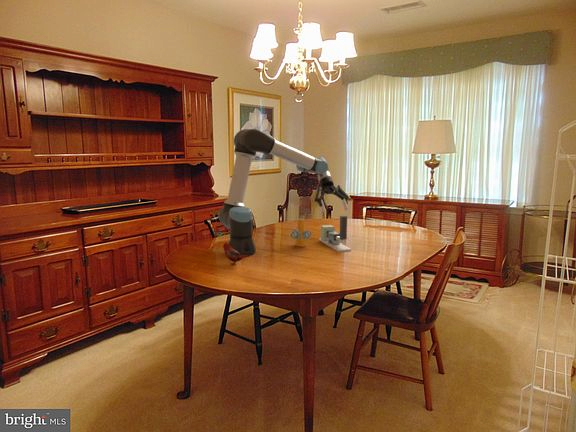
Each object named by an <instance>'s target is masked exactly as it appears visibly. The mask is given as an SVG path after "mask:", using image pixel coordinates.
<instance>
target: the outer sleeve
mask: <svg viewBox="0 0 576 432" xmlns="http://www.w3.org/2000/svg"><path fill="white" fill-rule="evenodd" d="M334 235H337V236H339V237H340V232H337V231H333V232H328V242H329V243H332V245H339V244H340V243H341V242H339V241H337V240H335V239H334Z"/></svg>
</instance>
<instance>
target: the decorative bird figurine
mask: <svg viewBox="0 0 576 432" xmlns="http://www.w3.org/2000/svg"><path fill="white" fill-rule="evenodd" d="M222 247H223V250H224V254H225V256H226V258H227V259H228V260H229V261H231V262H229V264H231V265H232V264H233V266H234V265H235V266H236V263H237V262H239V261H240V262H241V260H242V259H244V258H248V257H250V256H245V255H241V254H240V253H239V252H238V251H236V250H234V249H233V248H232V247H231V246H230V245H229V242H224V243H223V245H222Z"/></svg>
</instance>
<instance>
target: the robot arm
mask: <svg viewBox="0 0 576 432" xmlns="http://www.w3.org/2000/svg"><path fill="white" fill-rule="evenodd" d="M233 144H234V151H233V153H234V155H235V160H234V161H235V162H234V165H233V170H232V175H231V180H230V184H229V185H230V186H229V190H228V195H227V199H225V200H224V201H223V206H222V207H221V208H220V210H219V211H218V219H219V221H220V223H221V224H222V225H223V227H225V228H227V229H229V241H228V244H229V245H230V246H231V247H232V248H233V249H234V250H236V251H238V252H239V253H240V254H241V255H245V256H249V257H250V256H253V255H255V254H256V253H257V247H256V244H255V242H254V239H253V218H254V217H253V211H252V209H251V208H248V207H246V205H245V204H244V201H245V195H246V189H247V185H248V179H249V175H250V171H251V166H252V161H253V159H254V158H256V155H257V153H262V154H264V155H271V156H274V157H276V158H279V159H281V160H284V161H286V162H289V163H292V164H293V165H296V166H295V167H296V169H297V171H299V172H303V173H309V174H310V173H311V174H316V177H317V180H318V182H319V185H320V186H319V185H317V187H316V194H315V197H314V201H313V202H315V203H316V202H317V204H318V206H319V207H320V208H321V210H322V213H325V212H326V207H325V203H324V201H323V198H324V196H325V195H334V196H336V197H337V198H339V199H340V200H341V201H342V204H343V205H342V206H343V208H344V210H345V211H346V212H347V211H348V209H349V205H348V200H349V198H350V196H349V195H348V194H347V193H346V192H345V191H344V190H343V189H342V187H341V185H337V186H336V185H335V184H334V181H333V177H332V175H331V172H330V169H329V163H328V162H327V161H326V159H325V158H324V157H323V156H322V157H321V156H320V157H314V156H312V155H310V154H308V153H306V152H303V151H301V150H298V149H296V148H294V147H291V146H289V145H288V144H284V143H283V142H280V141H278V140H276V138H275V137H274V136H272V135H270V134H267V133H266V132H264V131H261V130H259V129H257V128H245V129H240V130H239V131H238V132H236V134H235V135H234V137H233ZM320 192H322V193H321V195H320ZM319 195H320V196H319Z"/></svg>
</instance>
